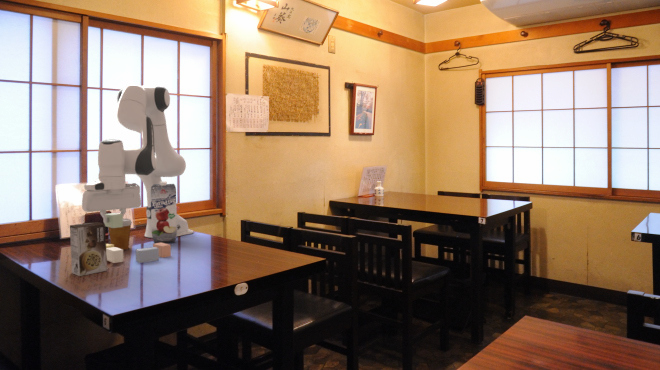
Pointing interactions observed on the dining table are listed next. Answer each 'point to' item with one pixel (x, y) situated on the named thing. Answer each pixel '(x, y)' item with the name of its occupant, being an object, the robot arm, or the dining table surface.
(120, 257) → the cream block
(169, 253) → the terracotta block
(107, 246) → the mustard block
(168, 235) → the juice carton
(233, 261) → the dining table surface
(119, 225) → the green block
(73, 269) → the food box
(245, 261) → the dining table surface
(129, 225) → the disposable coffee cup
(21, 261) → the dining table surface
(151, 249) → the slate block
